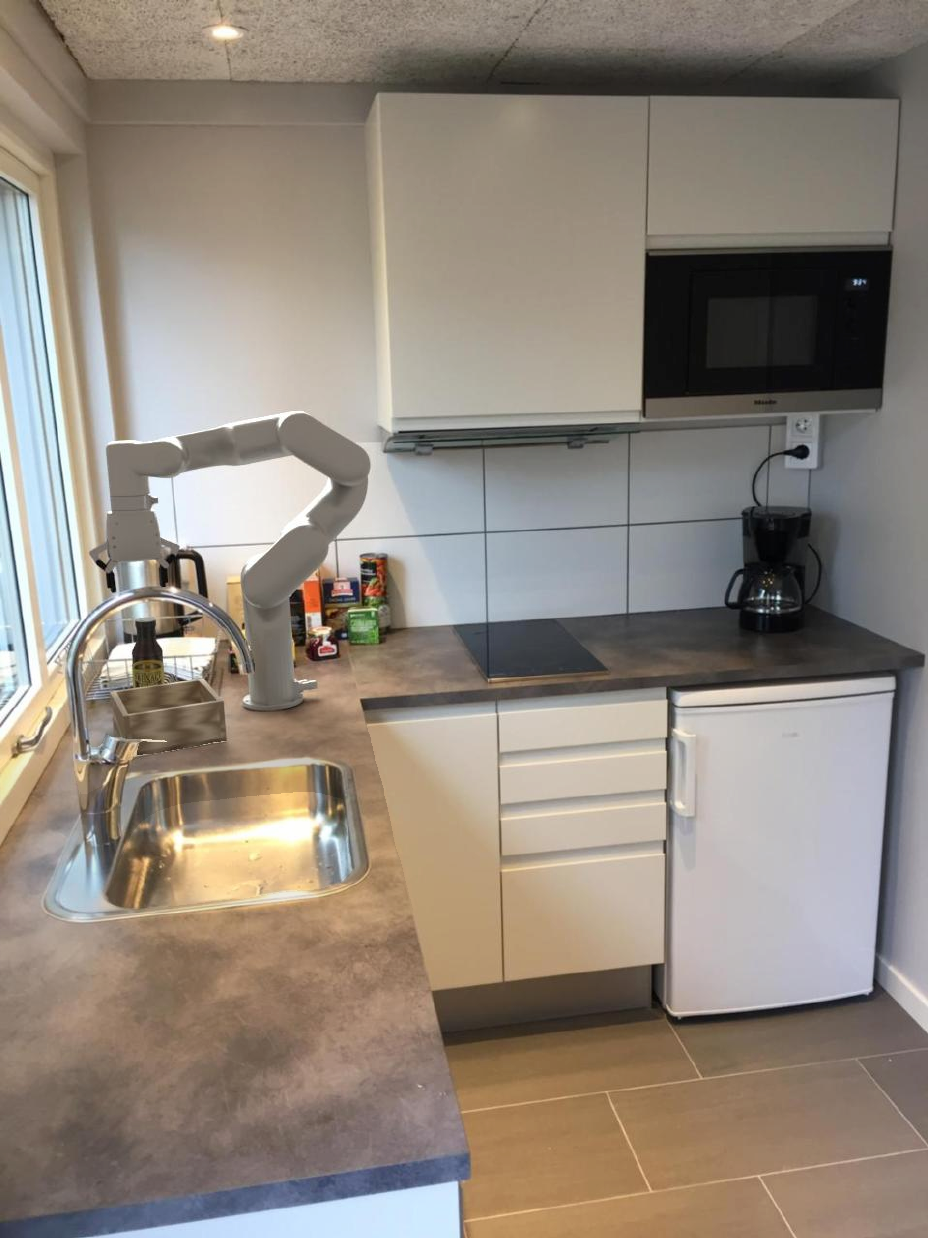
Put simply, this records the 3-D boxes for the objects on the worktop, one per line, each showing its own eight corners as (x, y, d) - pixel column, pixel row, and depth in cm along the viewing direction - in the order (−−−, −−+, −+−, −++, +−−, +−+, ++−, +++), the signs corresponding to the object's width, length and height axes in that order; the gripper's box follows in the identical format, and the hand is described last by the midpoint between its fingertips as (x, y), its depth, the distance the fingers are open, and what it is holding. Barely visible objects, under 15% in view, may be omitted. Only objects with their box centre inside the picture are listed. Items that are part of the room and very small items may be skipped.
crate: (206, 716, 206) (203, 678, 204) (227, 741, 190) (223, 701, 188) (114, 730, 198) (110, 691, 196) (127, 758, 182) (123, 716, 180)
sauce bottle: (134, 719, 205) (125, 623, 200) (135, 710, 211) (126, 617, 206) (168, 715, 206) (159, 621, 202) (168, 707, 212) (159, 615, 208)
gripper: (172, 500, 206) (178, 582, 210) (82, 505, 199) (90, 590, 202) (179, 503, 200) (185, 588, 203) (86, 508, 192) (95, 596, 196)
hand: (138, 589), depth 203 cm, fingers open, 9 cm apart
